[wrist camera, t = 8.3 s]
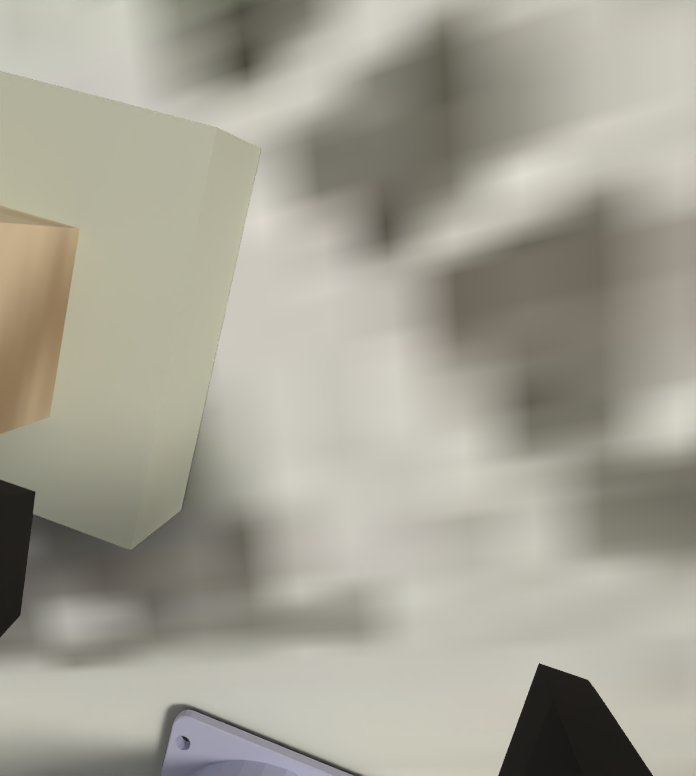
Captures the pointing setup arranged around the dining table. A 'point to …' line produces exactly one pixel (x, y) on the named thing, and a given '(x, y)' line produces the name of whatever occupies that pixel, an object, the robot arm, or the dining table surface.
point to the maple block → (31, 312)
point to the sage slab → (123, 298)
